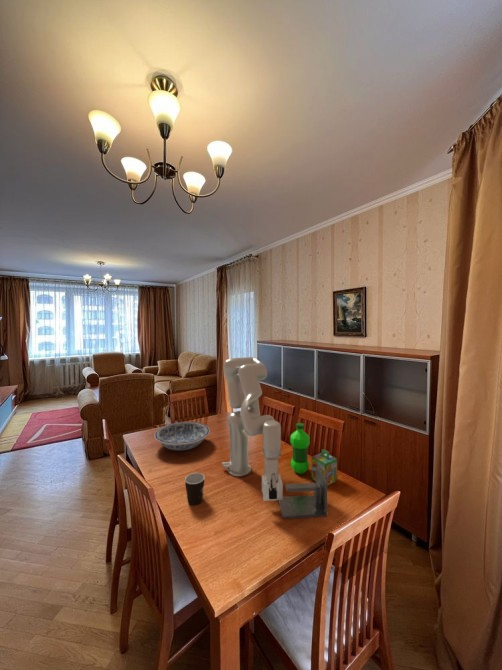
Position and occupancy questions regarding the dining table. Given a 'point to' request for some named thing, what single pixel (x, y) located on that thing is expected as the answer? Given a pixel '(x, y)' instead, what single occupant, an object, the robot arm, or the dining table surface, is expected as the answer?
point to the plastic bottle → (300, 449)
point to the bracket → (306, 499)
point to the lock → (267, 486)
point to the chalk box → (325, 466)
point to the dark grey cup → (194, 488)
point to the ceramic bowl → (182, 435)
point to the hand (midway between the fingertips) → (271, 492)
